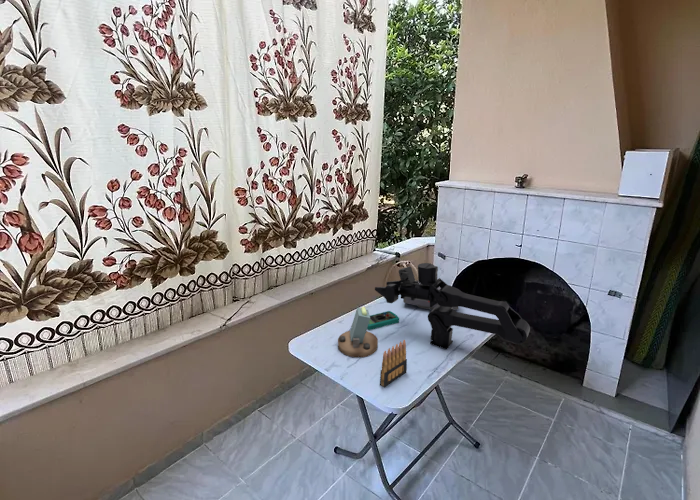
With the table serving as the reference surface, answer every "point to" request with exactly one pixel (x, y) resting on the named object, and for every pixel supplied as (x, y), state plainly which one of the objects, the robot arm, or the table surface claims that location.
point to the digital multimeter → (382, 320)
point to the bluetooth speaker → (422, 303)
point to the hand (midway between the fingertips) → (381, 285)
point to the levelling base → (357, 345)
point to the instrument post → (360, 324)
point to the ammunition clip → (393, 364)
